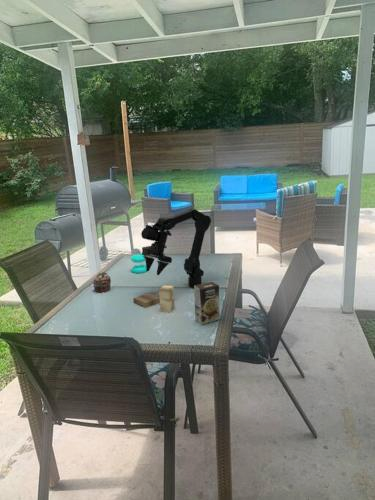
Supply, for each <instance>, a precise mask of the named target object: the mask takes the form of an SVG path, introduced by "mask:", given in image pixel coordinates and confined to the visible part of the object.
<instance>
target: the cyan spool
mask: <svg viewBox="0 0 375 500" xmlns="http://www.w3.org/2000/svg"><path fill="white" fill-rule="evenodd" d="M143 256H144V255H142V253H141V254H140V253H139V254H134V255H132V256H131V257H130V260H131V262H132V263H134V264H135V263H136V264H135V265H134V266H132V268H131V272H132V273H134V274H143V273H146V272H147V271H146V264H141V263H144V262H146V260H145V258H144V257H143Z"/></svg>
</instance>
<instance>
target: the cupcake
mask: <svg viewBox="0 0 375 500" xmlns="http://www.w3.org/2000/svg"><path fill="white" fill-rule="evenodd" d="M111 283H112V280H111V276H110V275H109V274H108V273H107V272H105V271H103V272H101V273H100V272H98V274H96V276H95V277H94V279H93V282H92V285H93V288H94V291H95V293H98V294H101V293H102V294H104V293H107V292H110V290H111ZM103 292H104V293H103Z"/></svg>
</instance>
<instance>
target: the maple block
mask: <svg viewBox="0 0 375 500" xmlns="http://www.w3.org/2000/svg"><path fill="white" fill-rule="evenodd" d="M158 294H159V295H158V296H159V298H160V303H159V307H160V308H159V309H160V310H159V311H160V312H166V313H171V312H173V310H174V309H175V289H174V286H173V285H162V286H161V287H160V288H158Z"/></svg>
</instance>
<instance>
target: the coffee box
mask: <svg viewBox="0 0 375 500" xmlns="http://www.w3.org/2000/svg"><path fill="white" fill-rule="evenodd" d="M193 289H194V291H193V293H194V316H195V317H194V320H195V321H197V322H198V323H199V324H200V325H202V324H203V325H206V323H207V324H209V323H208V322H210V323H213V322H212V321H214V322H216V321H215V320H218V319H220V320H221V317H220V316H221V315H220V285H219V284H217V283H215V282H212V281H210V282H205V283H202V284H199V285H194V288H193ZM218 321H219V320H218Z"/></svg>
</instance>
